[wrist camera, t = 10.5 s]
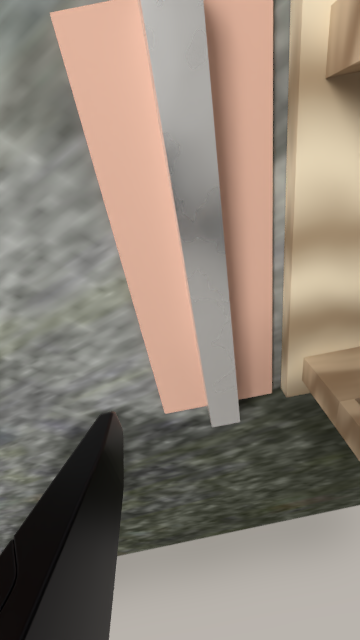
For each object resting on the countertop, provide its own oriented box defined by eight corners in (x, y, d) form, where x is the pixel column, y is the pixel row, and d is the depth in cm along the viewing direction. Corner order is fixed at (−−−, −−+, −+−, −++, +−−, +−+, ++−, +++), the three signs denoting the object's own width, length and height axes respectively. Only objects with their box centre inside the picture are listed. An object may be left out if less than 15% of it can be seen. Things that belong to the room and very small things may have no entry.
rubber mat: (270, 389, 25) (271, 393, 25) (164, 410, 25) (165, 413, 25) (269, -26, 12) (273, -32, 12) (52, 17, 12) (49, 12, 12)
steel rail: (232, 400, 25) (240, 421, 23) (207, 405, 25) (211, 427, 23) (190, -17, 12) (198, -56, 10) (136, -6, 12) (133, -43, 10)
